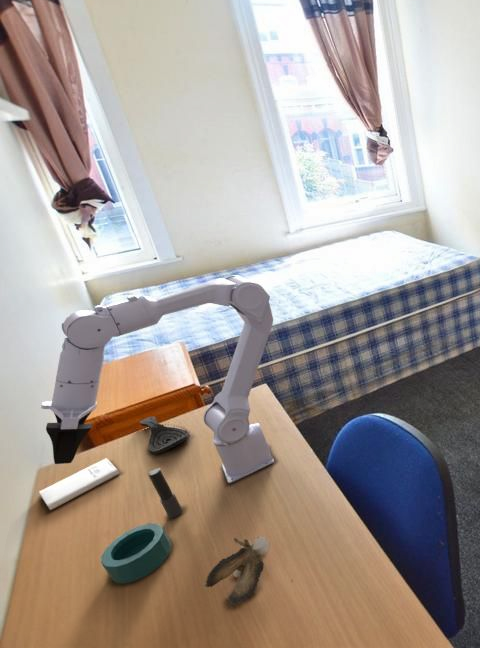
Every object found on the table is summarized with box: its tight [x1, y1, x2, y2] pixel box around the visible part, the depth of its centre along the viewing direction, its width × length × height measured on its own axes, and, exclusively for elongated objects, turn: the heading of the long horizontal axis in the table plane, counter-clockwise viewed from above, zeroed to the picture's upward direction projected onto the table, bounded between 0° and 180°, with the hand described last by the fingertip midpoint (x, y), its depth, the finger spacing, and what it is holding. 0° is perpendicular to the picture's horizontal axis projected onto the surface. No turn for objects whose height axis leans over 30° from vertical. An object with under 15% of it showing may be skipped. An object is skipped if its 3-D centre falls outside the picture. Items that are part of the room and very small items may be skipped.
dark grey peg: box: [147, 468, 183, 519], centre depth 93 cm, size 2×2×11 cm
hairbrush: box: [139, 416, 191, 455], centre depth 120 cm, size 8×4×25 cm
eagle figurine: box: [204, 536, 271, 606], centre depth 79 cm, size 8×7×9 cm
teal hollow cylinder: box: [100, 523, 172, 584], centre depth 84 cm, size 9×9×4 cm
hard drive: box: [38, 457, 120, 511], centre depth 106 cm, size 2×8×12 cm
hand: (65, 453), depth 82 cm, fingers open, 7 cm apart
